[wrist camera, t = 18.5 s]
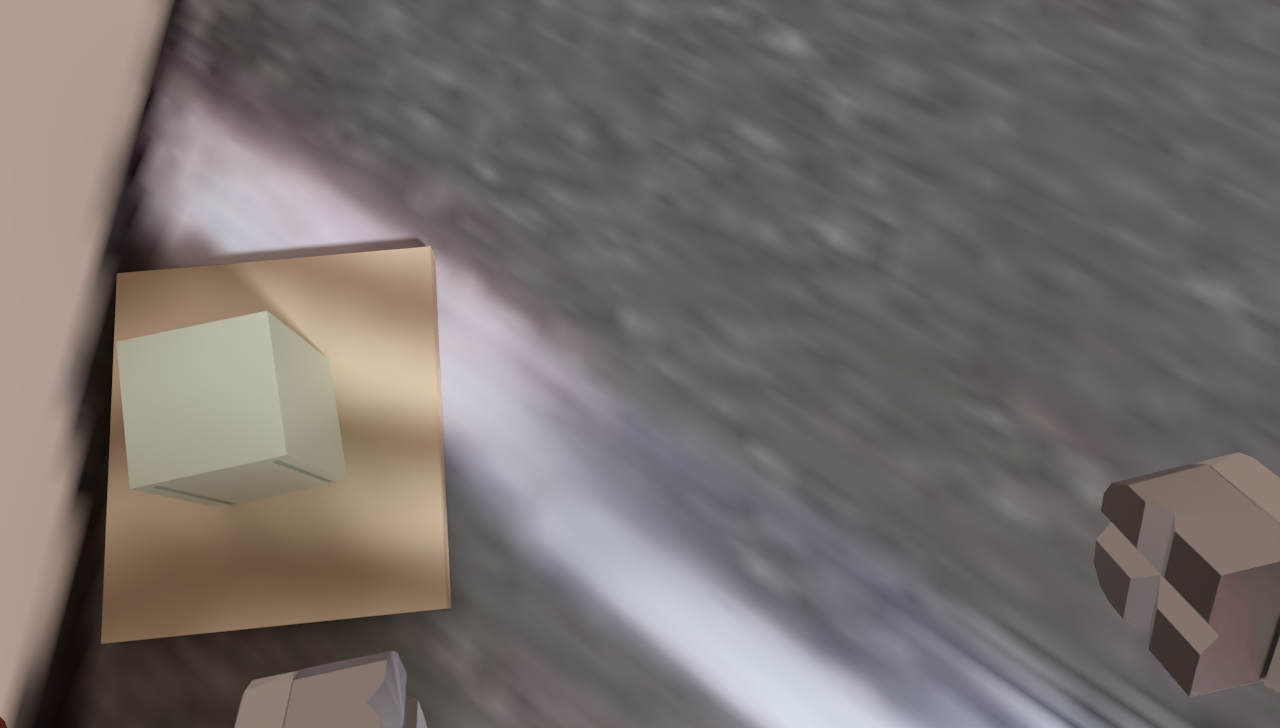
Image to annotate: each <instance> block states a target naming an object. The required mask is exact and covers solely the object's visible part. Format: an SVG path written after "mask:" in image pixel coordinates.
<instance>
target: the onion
mask: <svg viewBox="0 0 1280 728" xmlns="http://www.w3.org/2000/svg"><path fill="white" fill-rule="evenodd" d="M0 728H7V726H6V724H5V721H4V720H3V719H2V718H1V717H0Z"/></svg>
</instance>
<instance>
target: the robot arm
mask: <svg viewBox="0 0 1280 728" xmlns="http://www.w3.org/2000/svg"><path fill="white" fill-rule="evenodd" d="M1101 511H1102V512H1103V513H1104V514H1105V516H1106V517H1107V518H1108V519H1109V520H1110V521H1111V523H1110V524H1109V525H1108V526H1107V528H1106V529H1105V530H1104V531H1103V532H1102V534H1101V535H1100V536H1099V537H1098V538H1097V540H1096V546H1095V556H1094V565H1095V568H1096V572H1097V576H1098V580H1099V584H1100V586H1101V588H1102V590H1103V592H1104V594H1105V595H1106V597H1107V599H1108V601H1109V603H1110V604H1111V605H1112V606H1113V607H1114V609H1115V610H1116V611H1117V612H1118V614H1119V615H1120V616H1121V617H1122V618H1123V619H1124V620H1126V621H1128V622H1130V623H1132V624H1135V625H1137V626H1139V627H1141V628H1143V629H1145V630H1147V631H1149V650H1150V652H1151V653H1152V654H1153V655H1154V656H1155V657H1156V659H1157V660H1158V661H1159V662H1160V663H1161V664H1162V666H1163V667H1164V668H1165V669H1166V670H1167V671H1168V673H1169V674H1170V675H1171V676H1172V677H1173V678H1174V680H1175V681H1176V682H1177V683H1178V684H1179V685H1180V687H1181V688H1182V689H1183V690H1184V691H1185V692H1186V694H1187V695H1188V696H1189V697H1191V696H1195V695H1200V694H1204V693H1209V692H1213V691H1218V690H1222V689H1227V688H1232V687H1236V686H1241V685H1245V684H1250V683H1254V682H1259V681H1263V680H1265V682H1264V685H1266V686H1267V687H1269V688H1271V689H1273V690H1274V691H1276V692H1278V693H1280V478H1279V477H1278V476H1276V475H1275V474H1274V473H1272V472H1271V471H1270V470H1269V469H1267V468H1266V467H1265V466H1263V465H1262V464H1261V463H1260V462H1258V461H1257V460H1256V459H1254V458H1253V457H1250V456H1248V455H1245V454H1241V453H1234V454H1230V455H1225V456H1221V457H1217V458H1213V459H1209V460H1205V461H1201V462H1197V463H1195V464H1188V465H1184V466H1180V467H1176V468H1172V469H1168V470H1163V471H1159V472H1155V473H1151V474H1147V475H1143V476H1139V477H1135V478H1130V479H1126V480H1122V481H1118V482H1114V483H1111V485H1110V486H1109V487H1108V489H1107V490H1106V491H1105V493H1104V496H1103V502H1102V507H1101ZM406 674H407V672H406V670H405V668H404V666H403V664H402V662H401V659H400V657H399V655H398V653H397V652H394V651H387V652H382V653H377V654H372V655H367V656H363V657H358V658H353V659H348V660H343V661H338V662H333V663H329V664H324V665H319V666H314V667H309V668H304V669H300V670H299V671H295V672H290V673H285V674H280V675H275V676H270V677H265V678H260V679H255V680H252V682H251V683H250V684H249V686H248V687H247V689H246V690H245V692H244V693H243V696H242V699H241V703H240V707H239V711H238V715H237V719H236V723H235V727H234V728H427V726H426V722H425V718H424V714H423V712H422V709H421V707H420V704H419V702H418V700H417V699H415V698H413V697H411V696H409V695H408V694H406Z"/></svg>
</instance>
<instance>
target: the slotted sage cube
mask: <svg viewBox="0 0 1280 728" xmlns="http://www.w3.org/2000/svg"><path fill="white" fill-rule="evenodd" d="M116 344H117V355H118V366H119V377H120V388H121V399H122V409H123V420H124V431H125V442H126V453H127V464H128V475H129V486H130V489H132V490H137V491H141V492H146V493H151V494H156V495H160V496H165V497H170V498H175V499H179V500H184V501H189V502H194V503H198V504H203V505H208V506H212V507H217V508H223V507H227V506H232V503H235V504H241V503H245V502H250V501H254V500H259V499H263V498H268V497H272V496H277V495H281V494H286V493H290V492H295V491H299V490H304V489H309V488H313V487H318V486H322V485H327V484H330V480H331V481H333V482H340V481H345V480H348V479H347V472H346V466H345V459H344V452H343V446H342V439H341V432H340V426H339V419H338V412H337V406H336V399H335V392H334V386H333V379H332V372H331V366H330V360H329V359H328V358H326V357H325V356H324V355H323V354H321V353H320V352H319V351H318V350H316V349H315V348H314V347H313V346H311V345H310V344H309V343H308V342H306V341H305V340H304V339H302V338H301V337H300V336H299V335H297V334H296V333H295V332H294V331H292V330H291V329H290V328H289V327H287V326H286V325H285V324H284V323H282V322H281V321H280V320H279V319H277V318H276V317H275V316H273V315H272V314H271V313H270V312H268V311H263V312H258V313H253V314H249V315H244V316H239V317H234V318H229V319H224V320H220V321H215V322H210V323H205V324H200V325H195V326H191V327H186V328H181V329H176V330H171V331H166V332H161V333H157V334H152V335H147V336H142V337H137V338H132V339H128V340H123V341H118V342H116Z"/></svg>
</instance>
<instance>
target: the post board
mask: <svg viewBox="0 0 1280 728" xmlns="http://www.w3.org/2000/svg"><path fill="white" fill-rule="evenodd" d="M263 311H268V312H270V313H271V314H272V315H273V316H275V317H276V318H277V319H279V320H280V321H281V322H282V323H284V324H285V325H286V326H287V327H289V328H290V329H291V330H292V331H294V332H295V333H296V334H297V335H299V336H300V337H301V338H302V339H304V340H305V341H306V342H308V343H309V344H310V345H311V346H313V347H314V348H315V349H316V350H318V351H319V352H320V353H321V354H323V355H324V356H325V357H326V358H328V359H329V360H330V366H331V372H332V379H333V386H334V392H335V399H336V406H337V412H338V419H339V426H340V432H341V439H342V446H343V452H344V459H345V466H346V472H347V479H348V480H345V481H340V482H333V481H331V480H330V484H327V485H322V486H318V487H313V488H309V489H304V490H299V491H295V492H290V493H286V494H281V495H277V496H272V497H268V498H263V499H259V500H254V501H250V502H245V503H241V504H235V503H232V506H227V507H223V508H217V507H212V506H208V505H203V504H198V503H194V502H189V501H184V500H179V499H175V498H170V497H165V496H160V495H156V494H151V493H146V492H141V491H137V490H132V489H130V486H129V475H128V464H127V453H126V442H125V431H124V420H123V409H122V399H121V388H120V377H119V366H118V355H117V344H116V342H118V341H123V340H128V339H132V338H137V337H142V336H147V335H152V334H157V333H161V332H166V331H171V330H176V329H181V328H186V327H191V326H195V325H200V324H205V323H210V322H215V321H220V320H224V319H229V318H234V317H239V316H244V315H249V314H253V313H258V312H263ZM447 608H451V590H450V569H449V548H448V527H447V506H446V485H445V464H444V443H443V421H442V400H441V379H440V358H439V337H438V316H437V295H436V274H435V254H434V252H433V251H432V249H431V247H430V246H428V247H417V248H405V249H393V250H382V251H370V252H359V253H347V254H335V255H324V256H312V257H301V258H289V259H277V260H266V261H254V262H243V263H231V264H219V265H208V266H196V267H185V268H173V269H161V270H150V271H138V272H127V273H117V284H116V307H115V330H114V353H113V377H112V400H111V423H110V446H109V470H108V493H107V516H106V539H105V563H104V586H103V609H102V632H101V644H105V643H116V642H125V641H135V640H145V639H155V638H164V637H174V636H184V635H194V634H203V633H213V632H223V631H233V630H242V629H252V628H262V627H272V626H281V625H291V624H301V623H311V622H320V621H330V620H340V619H350V618H359V617H369V616H379V615H389V614H398V613H408V612H418V611H428V610H437V609H447Z"/></svg>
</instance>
